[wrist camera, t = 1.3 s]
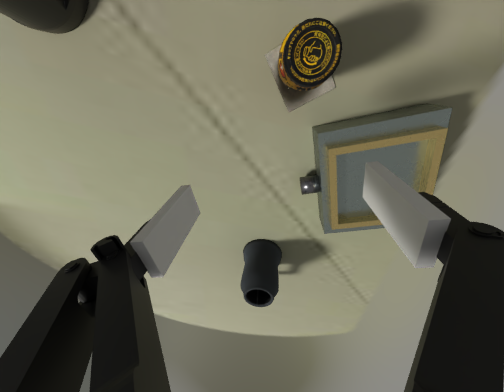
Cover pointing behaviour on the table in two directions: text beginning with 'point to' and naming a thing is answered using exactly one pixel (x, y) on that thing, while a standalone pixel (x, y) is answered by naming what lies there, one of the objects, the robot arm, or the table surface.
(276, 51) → the condiment
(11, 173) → the table surface
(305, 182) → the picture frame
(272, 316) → the table surface
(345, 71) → the table surface
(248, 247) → the mug
